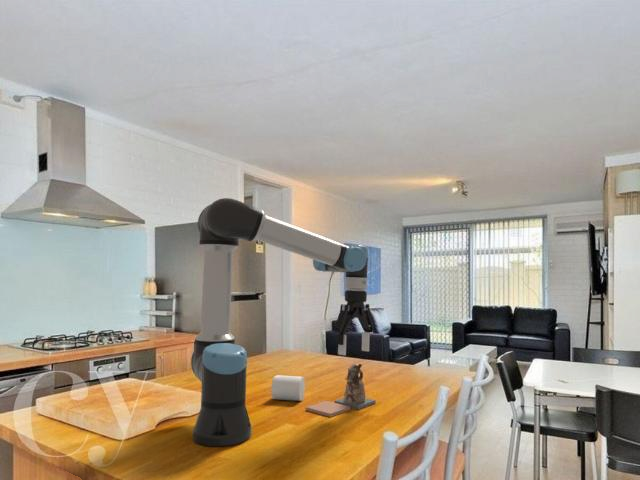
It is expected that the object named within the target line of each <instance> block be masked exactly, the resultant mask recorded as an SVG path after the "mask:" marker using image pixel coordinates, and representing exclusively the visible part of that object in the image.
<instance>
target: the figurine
mask: <svg viewBox="0 0 640 480" xmlns="http://www.w3.org/2000/svg"><path fill="white" fill-rule="evenodd" d="M362 367H363V364H361V363H359V364H358V365H357V364H352V365H350V366H349V367H347V376H346V377H345V378H344V379H345V380H346V386H345V391H344V394H343V395H344V396H343V398H344V401H346V402H348V403H362V402H364V401H365V398H366V390H365V384H364V381H363V377H364V374H363V371H362V370H361V368H362Z"/></svg>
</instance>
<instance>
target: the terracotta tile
mask: <svg viewBox="0 0 640 480" xmlns="http://www.w3.org/2000/svg"><path fill="white" fill-rule="evenodd" d="M305 410H306V411H307V412H311V413H314V414H318V415H321V416H324V417H329V418H331V417H334V416H338V415H340V414H342V413H345V412H348V411H350V410H351V408H350V407H349V406H345V405H341V404H337V403H334V401H333V402H332V401H328V400H324V401H320V402H318V403H315V404H312V405H308V406H306V407H305Z"/></svg>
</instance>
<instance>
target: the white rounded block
mask: <svg viewBox="0 0 640 480" xmlns="http://www.w3.org/2000/svg"><path fill="white" fill-rule="evenodd" d="M305 389H306V381H305V378H304V376H297V375H296V376H295V375H294V376H293V375H278V374H277V375H274V377H273V378H272V383H271V389H270V390H271V397H272V399H273V400H280V401H281V400H282V401H293V402H301V401H303V400H304V396H305V392H306V391H305Z"/></svg>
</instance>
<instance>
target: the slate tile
mask: <svg viewBox="0 0 640 480" xmlns="http://www.w3.org/2000/svg"><path fill="white" fill-rule="evenodd" d="M333 403H337V404H341V405H345V406H349V407H350V409H354V410H358V411H360V410H361V409H362V410H363V409H364V408H366V407H367V408H368V407H370V406H372V405H375V404H377V403H376V399H371V398H368V397H365V401H364V402H362V403H348V402H346V401H344V397H342V398H339V399H335V400H334V401H333Z"/></svg>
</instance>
